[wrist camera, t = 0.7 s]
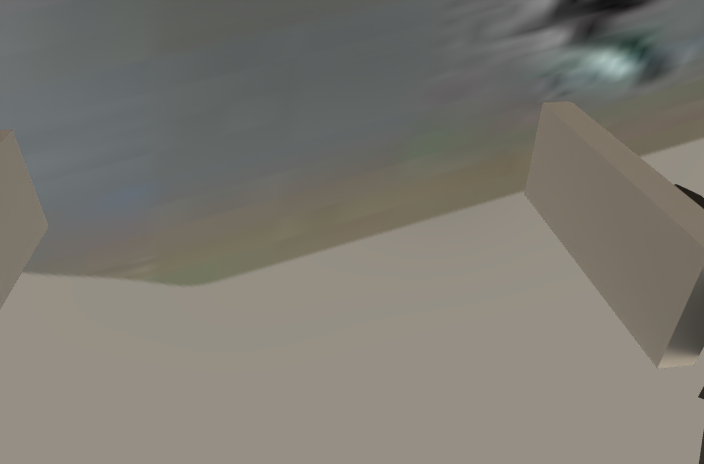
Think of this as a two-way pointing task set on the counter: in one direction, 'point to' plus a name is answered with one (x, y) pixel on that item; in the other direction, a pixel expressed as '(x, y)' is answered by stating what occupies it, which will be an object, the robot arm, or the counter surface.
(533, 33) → the counter surface
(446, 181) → the counter surface
